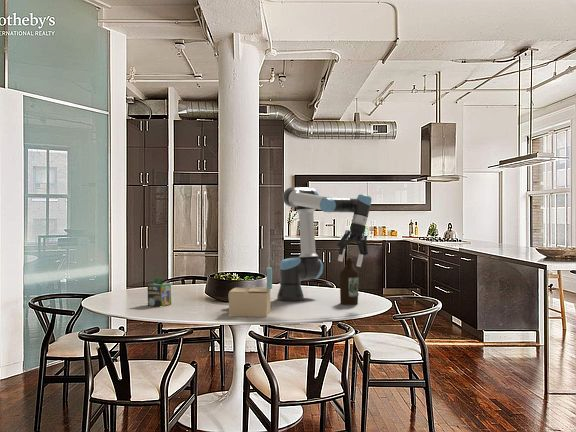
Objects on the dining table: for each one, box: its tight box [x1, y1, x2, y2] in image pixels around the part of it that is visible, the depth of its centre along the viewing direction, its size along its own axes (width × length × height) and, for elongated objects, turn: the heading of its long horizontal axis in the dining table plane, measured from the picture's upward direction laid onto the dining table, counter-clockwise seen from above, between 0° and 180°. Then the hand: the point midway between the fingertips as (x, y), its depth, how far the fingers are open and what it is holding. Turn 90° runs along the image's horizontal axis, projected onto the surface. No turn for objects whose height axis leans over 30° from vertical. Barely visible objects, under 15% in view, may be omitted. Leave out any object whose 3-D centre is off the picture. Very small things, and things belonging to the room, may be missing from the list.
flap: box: [248, 267, 273, 292], centre depth 274 cm, size 14×10×11 cm
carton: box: [227, 287, 271, 318], centre depth 275 cm, size 16×18×12 cm
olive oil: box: [339, 257, 360, 306], centre depth 306 cm, size 11×11×25 cm
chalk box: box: [146, 277, 172, 307], centre depth 300 cm, size 9×9×15 cm
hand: (349, 264), depth 290 cm, fingers open, 13 cm apart
